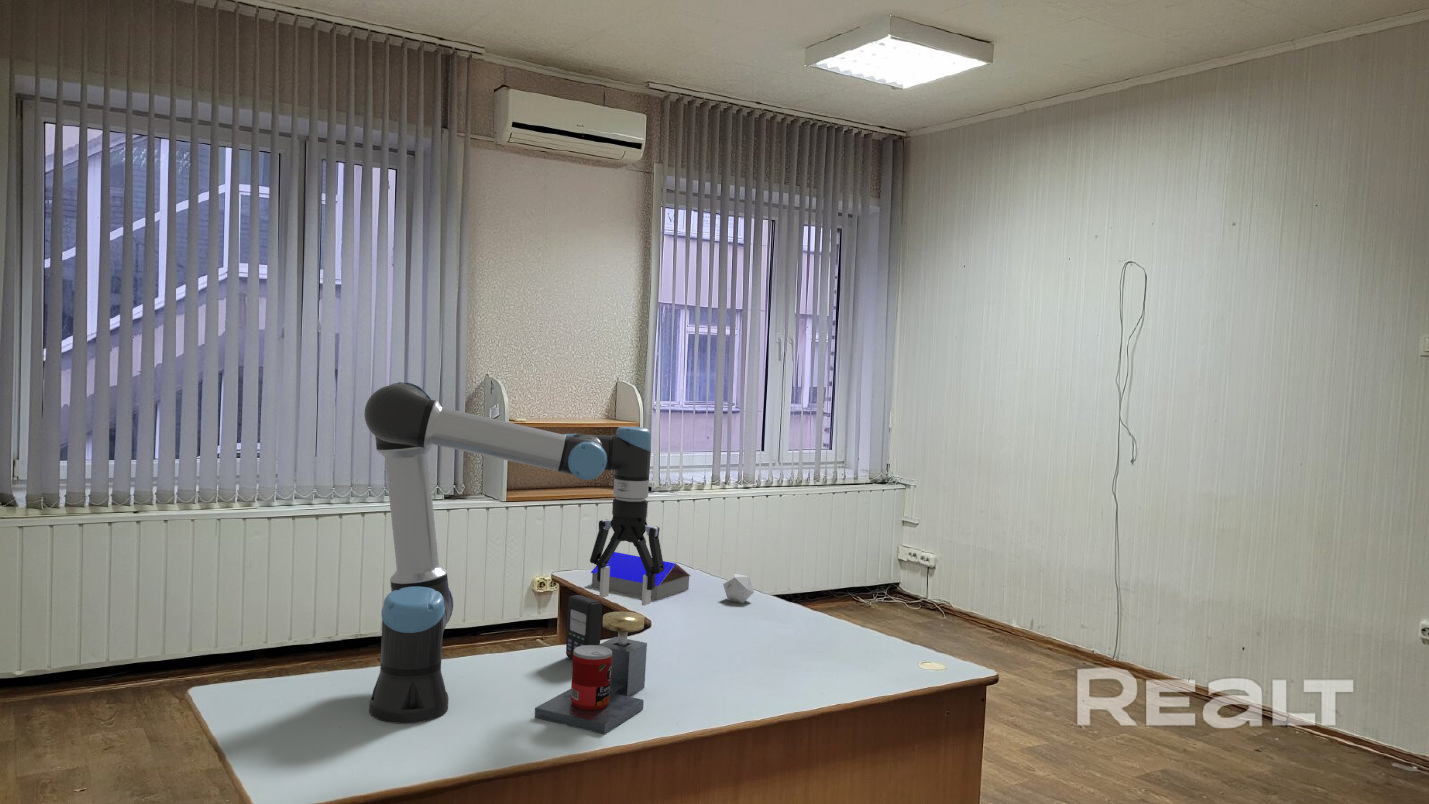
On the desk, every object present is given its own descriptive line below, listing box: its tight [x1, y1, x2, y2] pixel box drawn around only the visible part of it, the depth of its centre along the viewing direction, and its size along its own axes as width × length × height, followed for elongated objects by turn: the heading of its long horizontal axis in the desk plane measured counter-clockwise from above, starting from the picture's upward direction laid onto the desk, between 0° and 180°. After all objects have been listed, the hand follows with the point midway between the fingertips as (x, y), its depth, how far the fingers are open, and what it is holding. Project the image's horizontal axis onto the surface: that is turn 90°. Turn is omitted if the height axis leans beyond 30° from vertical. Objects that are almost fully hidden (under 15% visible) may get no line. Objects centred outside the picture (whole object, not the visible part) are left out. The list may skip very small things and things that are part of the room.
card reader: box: [565, 594, 603, 661], centre depth 240 cm, size 9×4×15 cm, turn 45°
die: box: [722, 573, 755, 604], centre depth 307 cm, size 8×9×10 cm
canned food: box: [570, 645, 612, 710], centre depth 207 cm, size 8×8×11 cm
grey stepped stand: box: [534, 636, 648, 735], centre depth 213 cm, size 16×28×10 cm, turn 156°
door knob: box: [601, 611, 645, 647], centre depth 222 cm, size 9×9×10 cm
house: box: [590, 551, 692, 601], centre depth 316 cm, size 19×25×10 cm
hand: (624, 600), depth 222 cm, fingers open, 10 cm apart
